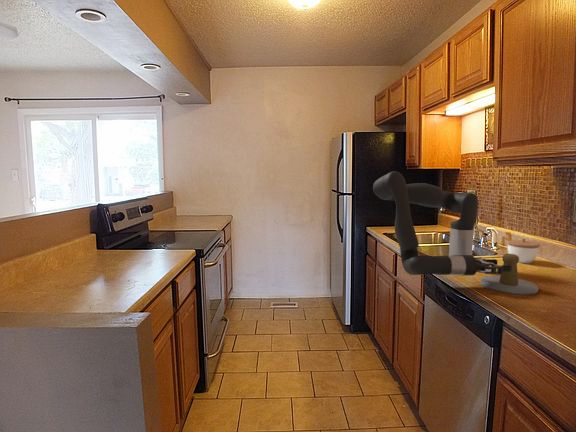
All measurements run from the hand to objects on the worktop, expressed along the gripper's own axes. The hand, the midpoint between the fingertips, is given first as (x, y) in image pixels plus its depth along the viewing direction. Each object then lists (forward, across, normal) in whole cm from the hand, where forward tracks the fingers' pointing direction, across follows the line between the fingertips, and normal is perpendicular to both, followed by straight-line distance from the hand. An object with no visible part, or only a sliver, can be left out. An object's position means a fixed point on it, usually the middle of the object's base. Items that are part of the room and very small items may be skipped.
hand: (503, 265), depth 128 cm
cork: (+2, 0, +7) cm, 7 cm away
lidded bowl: (+32, +36, +8) cm, 49 cm away
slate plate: (+2, 0, +8) cm, 8 cm away
